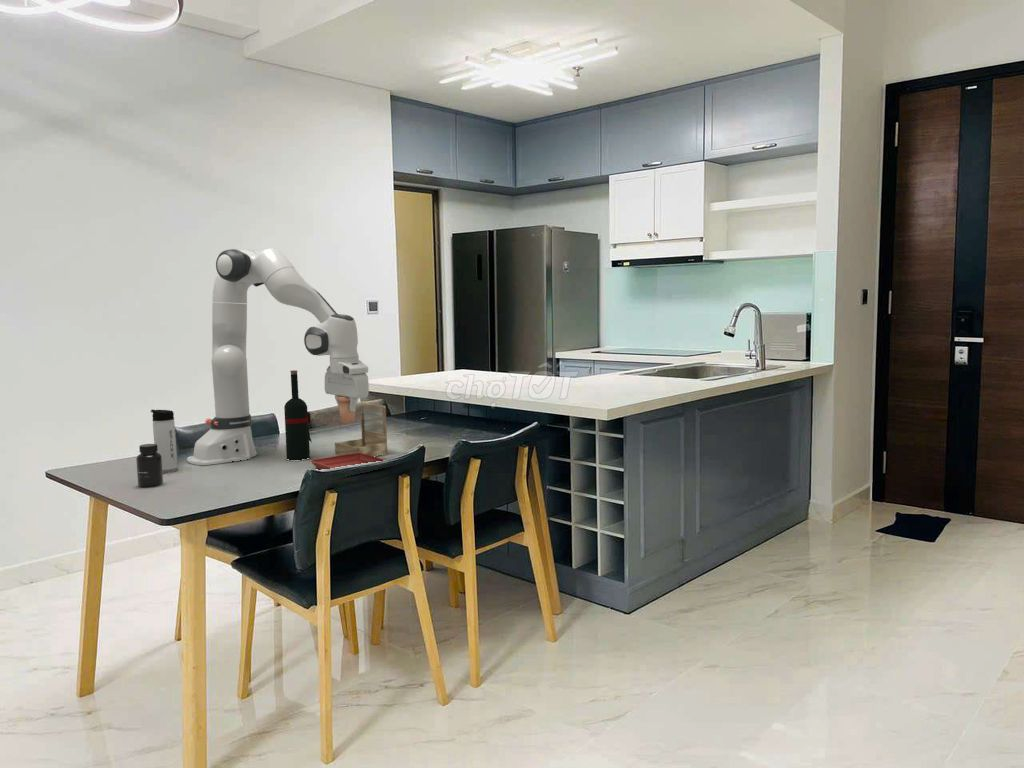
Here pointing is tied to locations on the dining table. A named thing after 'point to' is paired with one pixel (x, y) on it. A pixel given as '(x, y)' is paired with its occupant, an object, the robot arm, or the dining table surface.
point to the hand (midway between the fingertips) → (346, 410)
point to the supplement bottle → (149, 466)
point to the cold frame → (368, 433)
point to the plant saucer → (344, 460)
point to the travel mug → (165, 438)
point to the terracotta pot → (345, 410)
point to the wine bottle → (296, 424)
